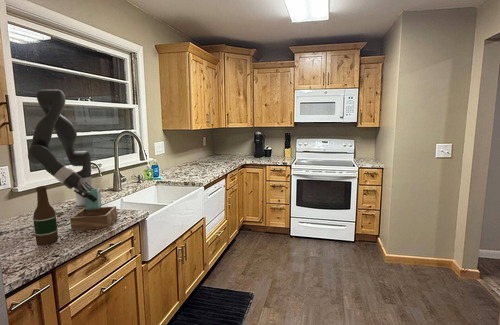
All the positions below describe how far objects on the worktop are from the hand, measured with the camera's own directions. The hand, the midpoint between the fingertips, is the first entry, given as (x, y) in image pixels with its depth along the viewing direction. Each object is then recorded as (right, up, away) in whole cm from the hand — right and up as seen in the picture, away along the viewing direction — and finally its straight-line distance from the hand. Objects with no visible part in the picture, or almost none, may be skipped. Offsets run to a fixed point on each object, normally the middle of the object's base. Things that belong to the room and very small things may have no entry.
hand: (97, 199), depth 144 cm
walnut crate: (-2, -12, +1) cm, 12 cm away
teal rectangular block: (-2, -4, 0) cm, 5 cm away
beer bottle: (-10, -16, -21) cm, 28 cm away
